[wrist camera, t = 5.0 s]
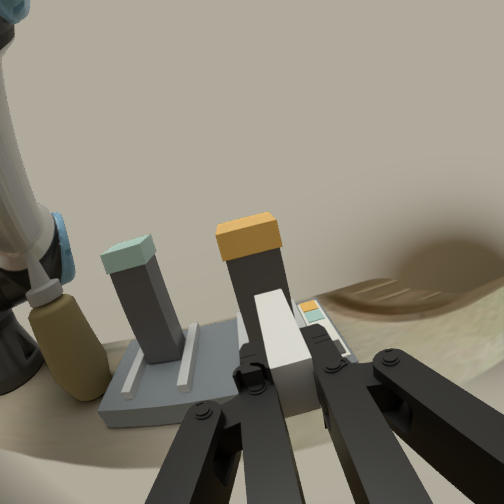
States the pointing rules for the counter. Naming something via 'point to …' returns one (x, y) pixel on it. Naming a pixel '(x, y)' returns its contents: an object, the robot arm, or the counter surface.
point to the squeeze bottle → (65, 337)
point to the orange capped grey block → (253, 264)
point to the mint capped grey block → (145, 298)
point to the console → (192, 371)
